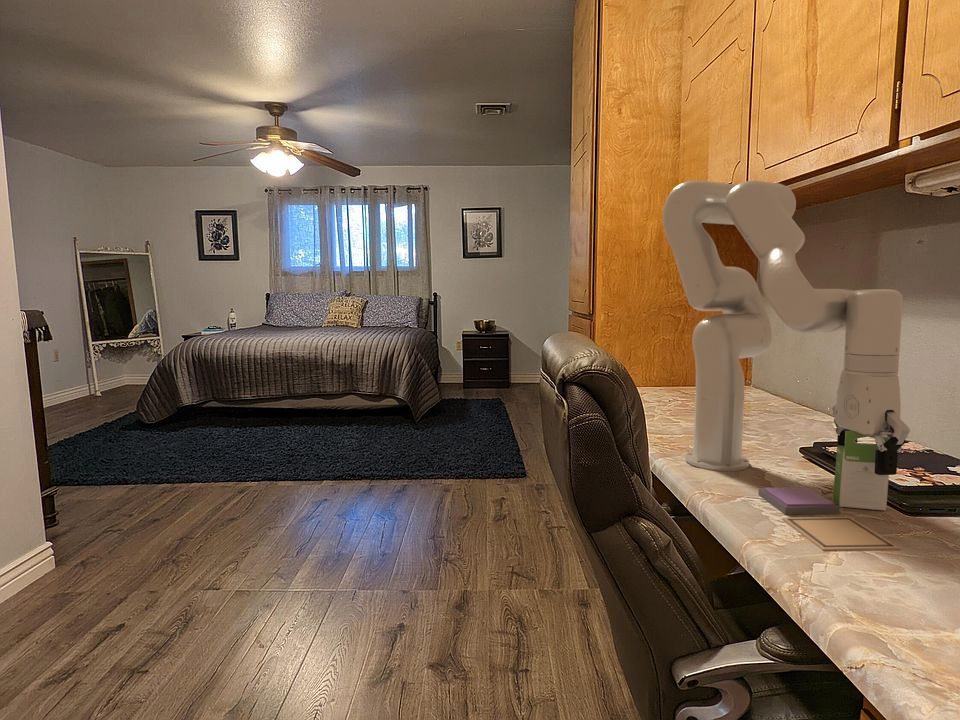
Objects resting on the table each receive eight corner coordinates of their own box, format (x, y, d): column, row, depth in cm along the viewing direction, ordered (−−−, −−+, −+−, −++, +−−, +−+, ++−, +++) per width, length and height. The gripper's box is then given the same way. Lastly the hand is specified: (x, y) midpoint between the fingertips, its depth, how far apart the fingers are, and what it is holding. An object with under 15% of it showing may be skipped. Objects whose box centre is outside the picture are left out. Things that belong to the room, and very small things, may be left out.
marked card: (782, 519, 93) (782, 517, 93) (850, 518, 93) (850, 516, 93) (822, 550, 82) (823, 548, 82) (899, 549, 82) (900, 547, 82)
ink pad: (758, 494, 104) (758, 486, 104) (808, 493, 104) (808, 486, 104) (784, 514, 95) (785, 505, 95) (839, 513, 95) (840, 505, 95)
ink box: (878, 503, 99) (884, 427, 97) (886, 512, 95) (893, 433, 94) (832, 499, 101) (837, 424, 100) (838, 507, 98) (844, 430, 96)
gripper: (817, 359, 104) (812, 451, 106) (884, 372, 86) (878, 482, 88) (858, 358, 104) (853, 451, 106) (934, 371, 86) (927, 481, 88)
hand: (864, 465), depth 97 cm, fingers open, 9 cm apart
